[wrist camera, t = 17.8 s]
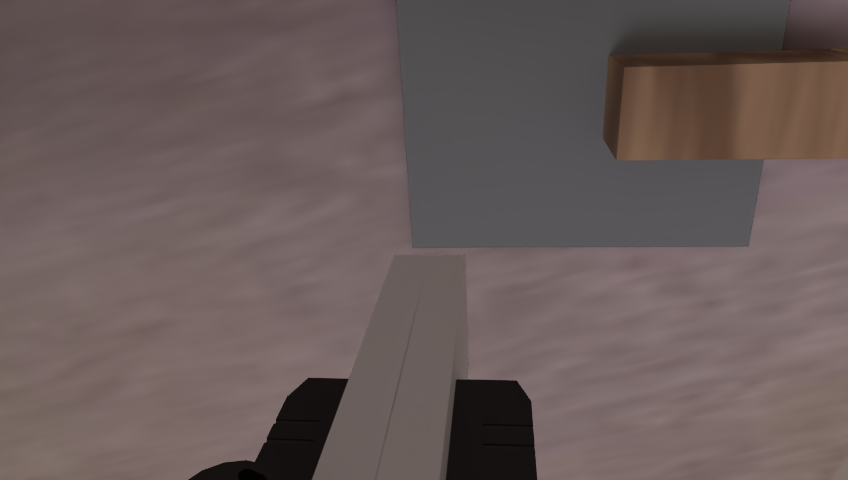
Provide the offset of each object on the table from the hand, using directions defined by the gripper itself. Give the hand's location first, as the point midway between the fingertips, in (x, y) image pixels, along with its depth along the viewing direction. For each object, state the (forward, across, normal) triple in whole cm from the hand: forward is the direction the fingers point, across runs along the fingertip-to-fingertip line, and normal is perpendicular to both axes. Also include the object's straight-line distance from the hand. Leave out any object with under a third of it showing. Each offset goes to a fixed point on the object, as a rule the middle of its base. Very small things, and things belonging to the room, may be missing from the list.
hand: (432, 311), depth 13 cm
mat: (+24, +5, 0) cm, 25 cm away
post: (+21, +7, 0) cm, 22 cm away
